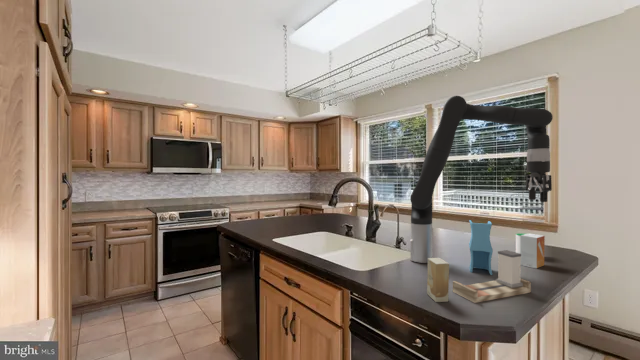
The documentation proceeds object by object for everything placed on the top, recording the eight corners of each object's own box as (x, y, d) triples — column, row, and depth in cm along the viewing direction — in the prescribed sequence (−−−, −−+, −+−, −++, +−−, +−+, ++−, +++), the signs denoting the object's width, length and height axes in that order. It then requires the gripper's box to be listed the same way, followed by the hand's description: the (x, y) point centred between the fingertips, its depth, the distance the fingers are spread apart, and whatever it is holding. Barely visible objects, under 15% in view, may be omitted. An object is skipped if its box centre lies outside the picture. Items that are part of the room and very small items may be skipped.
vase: (490, 269, 121) (490, 221, 120) (492, 275, 113) (492, 224, 113) (469, 266, 124) (469, 220, 124) (470, 272, 117) (470, 223, 116)
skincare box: (426, 294, 96) (426, 257, 96) (439, 293, 96) (439, 257, 96) (436, 302, 90) (436, 263, 89) (449, 302, 90) (449, 263, 90)
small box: (537, 269, 120) (537, 237, 120) (519, 265, 125) (519, 235, 125) (544, 265, 124) (545, 235, 124) (527, 261, 130) (528, 233, 130)
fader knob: (512, 287, 96) (512, 255, 96) (495, 281, 102) (496, 251, 101) (523, 285, 98) (523, 254, 97) (506, 279, 103) (506, 249, 103)
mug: (532, 253, 143) (532, 232, 143) (548, 258, 135) (548, 236, 135) (511, 255, 141) (511, 233, 141) (525, 259, 133) (526, 237, 133)
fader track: (474, 302, 89) (474, 291, 89) (452, 291, 98) (452, 281, 98) (530, 292, 97) (530, 281, 97) (505, 282, 105) (505, 273, 105)
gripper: (519, 161, 124) (519, 199, 124) (537, 159, 110) (536, 202, 110) (539, 161, 122) (538, 199, 123) (559, 159, 108) (559, 202, 109)
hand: (537, 200), depth 116 cm, fingers open, 8 cm apart
